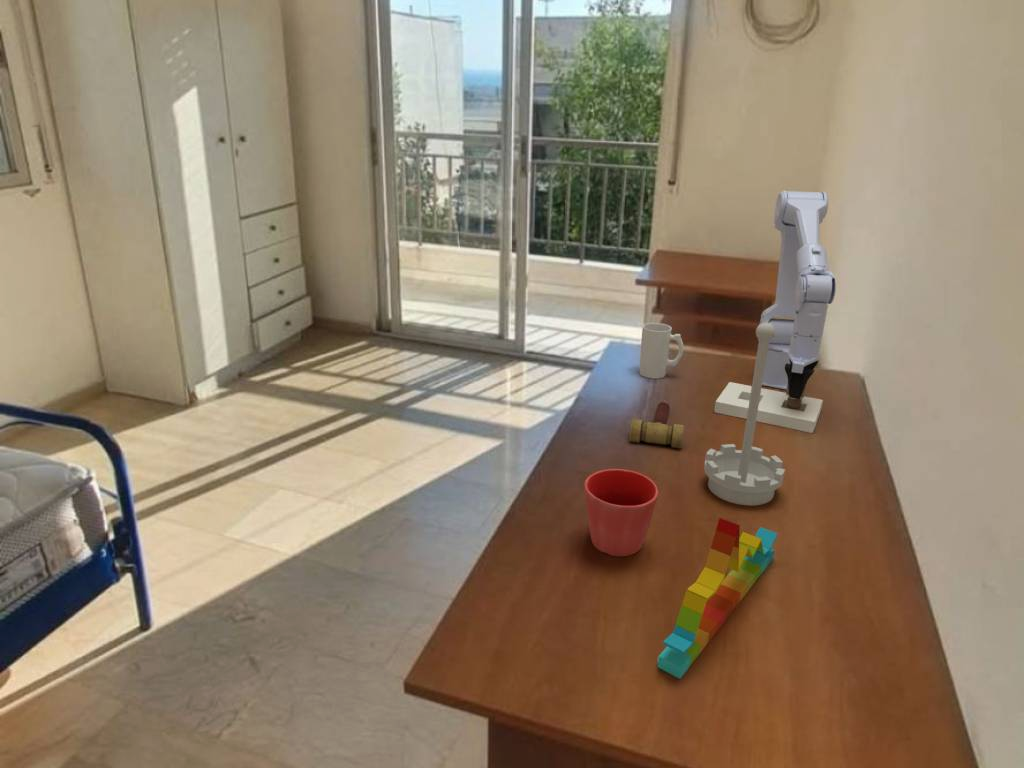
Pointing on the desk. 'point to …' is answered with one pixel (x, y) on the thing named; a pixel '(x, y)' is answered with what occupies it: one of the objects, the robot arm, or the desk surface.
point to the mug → (657, 350)
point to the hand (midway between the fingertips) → (796, 394)
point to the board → (769, 407)
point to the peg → (794, 400)
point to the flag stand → (747, 450)
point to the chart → (716, 592)
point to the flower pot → (619, 510)
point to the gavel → (657, 429)
